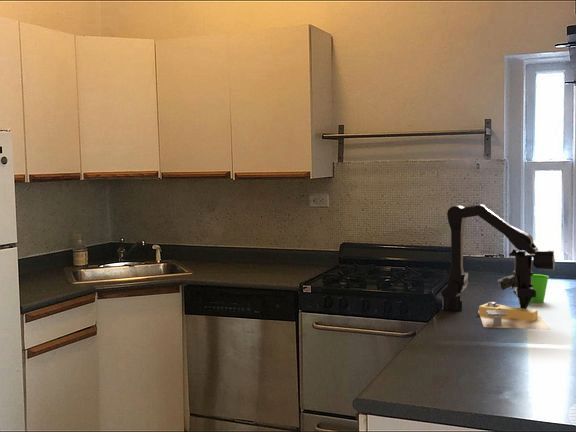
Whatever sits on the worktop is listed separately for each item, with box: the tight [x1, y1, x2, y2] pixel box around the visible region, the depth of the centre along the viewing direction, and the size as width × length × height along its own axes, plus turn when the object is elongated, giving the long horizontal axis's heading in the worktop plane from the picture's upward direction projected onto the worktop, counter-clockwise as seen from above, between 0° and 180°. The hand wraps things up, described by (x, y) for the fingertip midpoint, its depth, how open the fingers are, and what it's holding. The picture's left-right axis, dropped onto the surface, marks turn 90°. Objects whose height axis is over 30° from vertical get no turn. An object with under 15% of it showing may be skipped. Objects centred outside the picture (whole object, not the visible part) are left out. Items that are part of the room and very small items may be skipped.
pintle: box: [487, 301, 497, 308], centre depth 250 cm, size 3×3×4 cm
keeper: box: [486, 310, 507, 327], centre depth 234 cm, size 7×6×4 cm
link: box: [478, 302, 539, 321], centre depth 246 cm, size 19×7×3 cm, turn 50°
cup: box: [529, 273, 550, 304], centre depth 270 cm, size 9×9×11 cm
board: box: [477, 310, 551, 330], centre depth 241 cm, size 21×25×1 cm
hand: (522, 312), depth 246 cm, fingers closed
